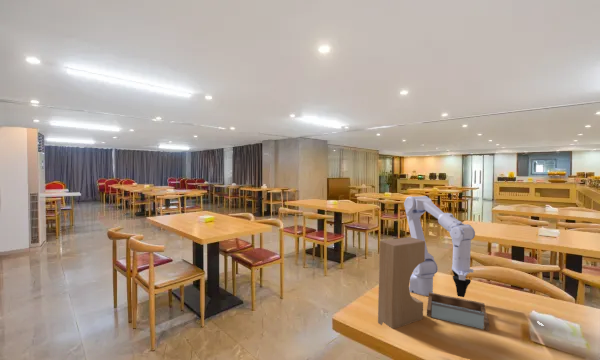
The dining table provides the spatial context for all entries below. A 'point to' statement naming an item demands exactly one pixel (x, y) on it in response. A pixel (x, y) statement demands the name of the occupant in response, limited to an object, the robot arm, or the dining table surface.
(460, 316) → the panel
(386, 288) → the decorative block
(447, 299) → the tray
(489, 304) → the dining table surface
